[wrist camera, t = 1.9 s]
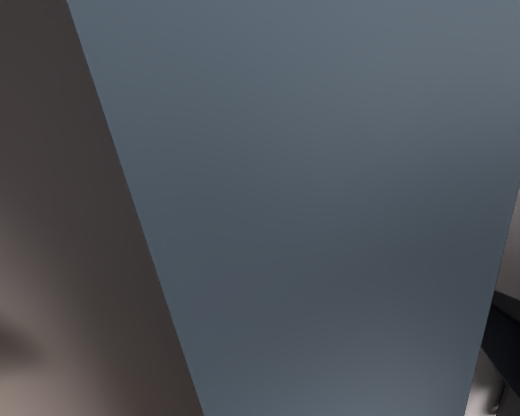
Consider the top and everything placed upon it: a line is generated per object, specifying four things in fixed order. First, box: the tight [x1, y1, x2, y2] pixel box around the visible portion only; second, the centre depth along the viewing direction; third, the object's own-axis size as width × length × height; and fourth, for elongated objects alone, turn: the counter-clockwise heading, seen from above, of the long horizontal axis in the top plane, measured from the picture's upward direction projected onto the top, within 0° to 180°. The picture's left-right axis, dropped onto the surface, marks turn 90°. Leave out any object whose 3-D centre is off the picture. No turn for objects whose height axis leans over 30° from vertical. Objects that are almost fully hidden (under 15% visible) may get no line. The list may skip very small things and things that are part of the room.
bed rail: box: [67, 0, 520, 416], centre depth 9 cm, size 4×22×4 cm, turn 7°
